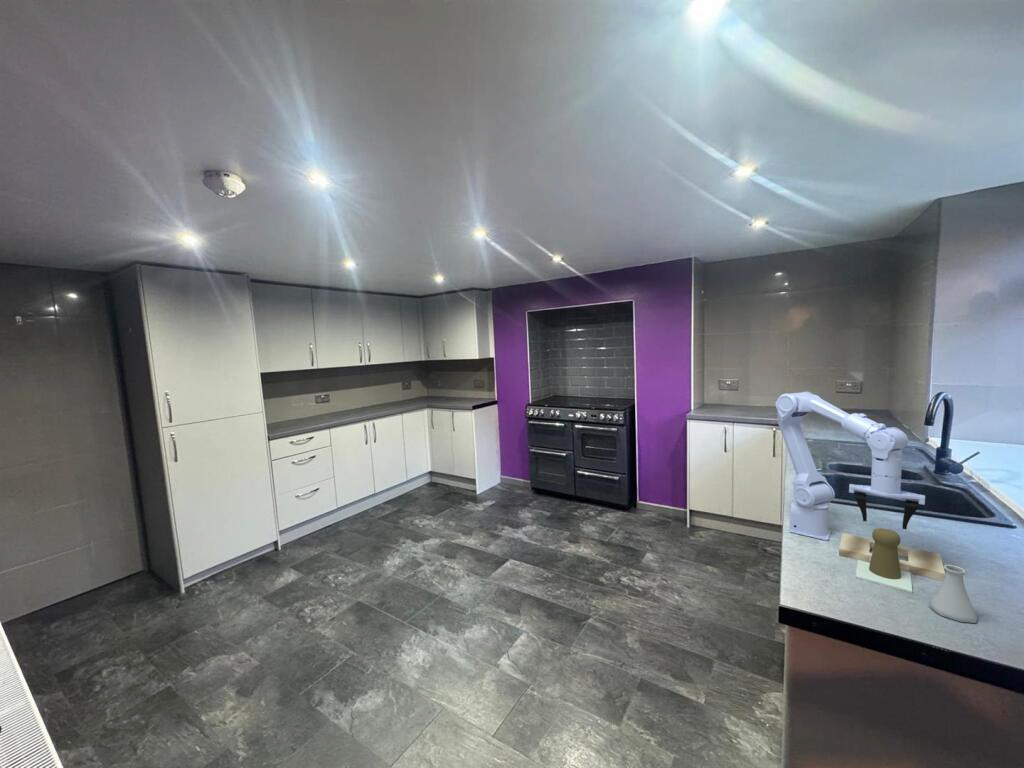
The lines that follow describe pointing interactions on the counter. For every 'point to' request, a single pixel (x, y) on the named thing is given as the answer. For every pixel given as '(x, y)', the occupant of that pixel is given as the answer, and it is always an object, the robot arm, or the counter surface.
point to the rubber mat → (867, 575)
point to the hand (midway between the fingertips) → (884, 523)
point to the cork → (885, 554)
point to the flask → (953, 597)
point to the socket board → (917, 559)
